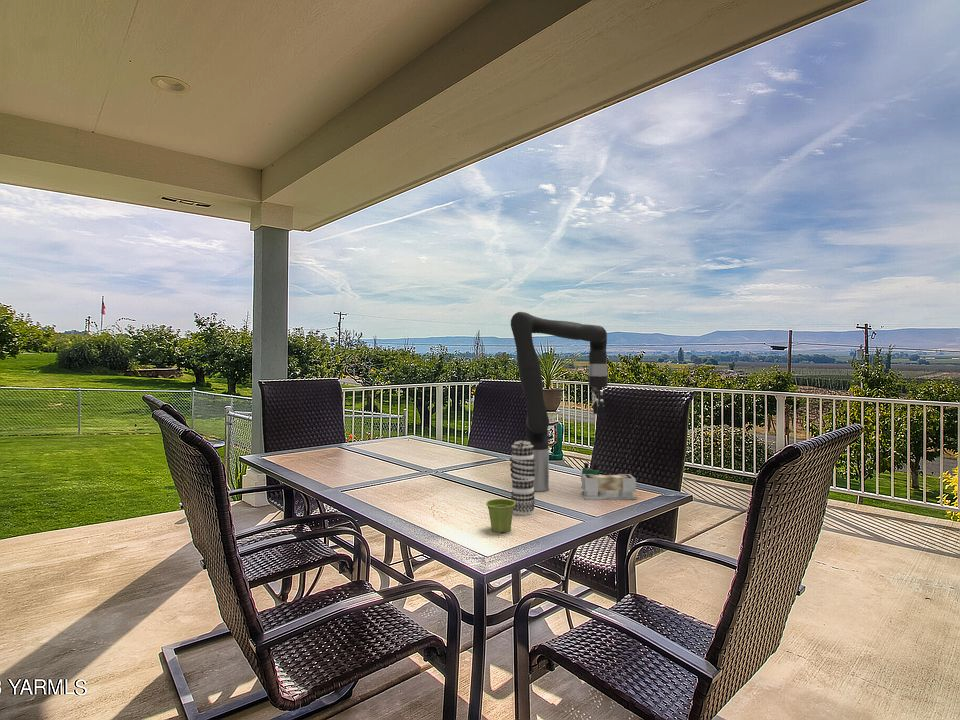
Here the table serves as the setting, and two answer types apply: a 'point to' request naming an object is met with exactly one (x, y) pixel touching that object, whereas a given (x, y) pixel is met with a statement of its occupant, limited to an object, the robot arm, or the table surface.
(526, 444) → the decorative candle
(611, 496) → the cup bracket
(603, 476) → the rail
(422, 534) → the table surface
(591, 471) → the binoculars
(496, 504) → the plant pot
